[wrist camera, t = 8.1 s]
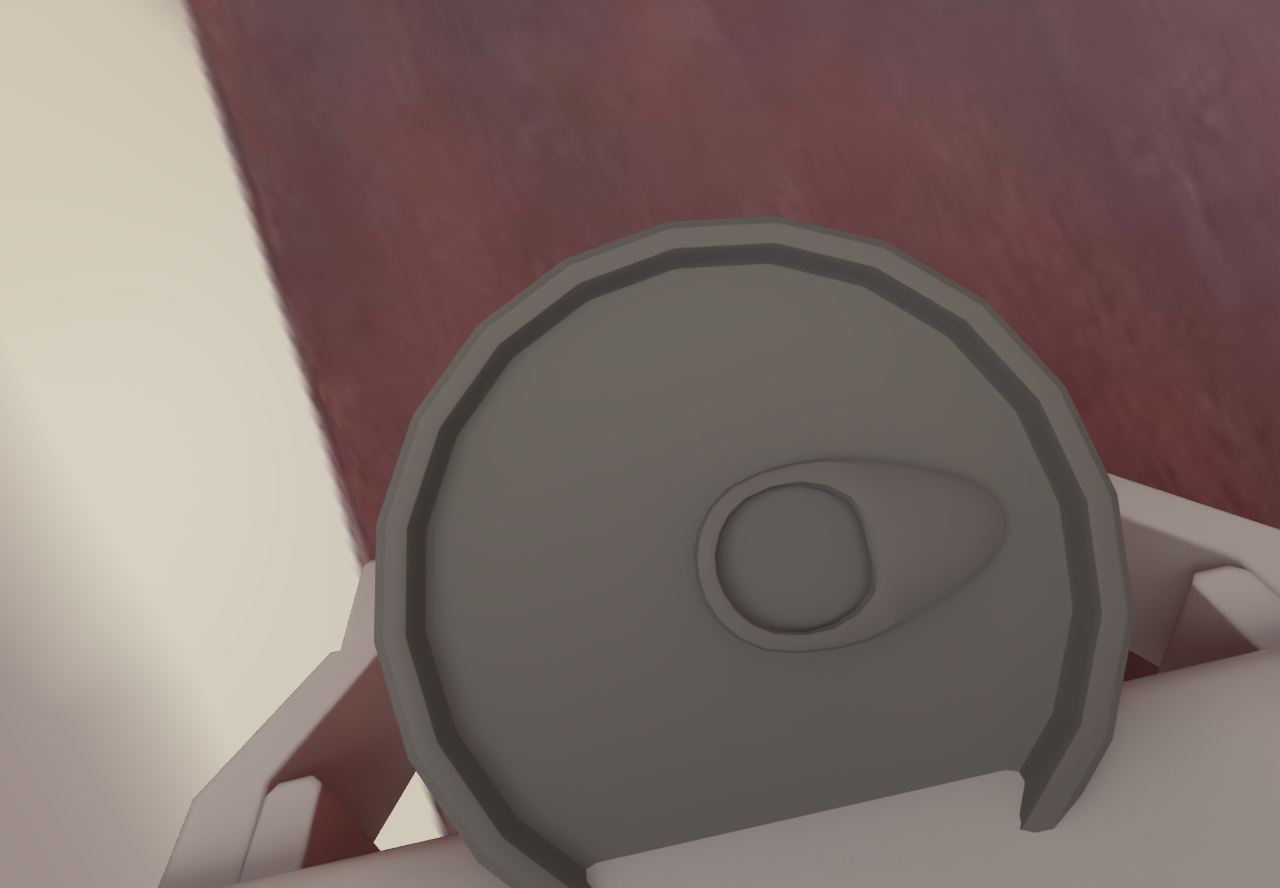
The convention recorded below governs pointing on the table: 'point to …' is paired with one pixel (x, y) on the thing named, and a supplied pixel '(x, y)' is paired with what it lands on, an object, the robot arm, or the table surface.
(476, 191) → the table surface
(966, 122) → the table surface
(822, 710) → the beer can
